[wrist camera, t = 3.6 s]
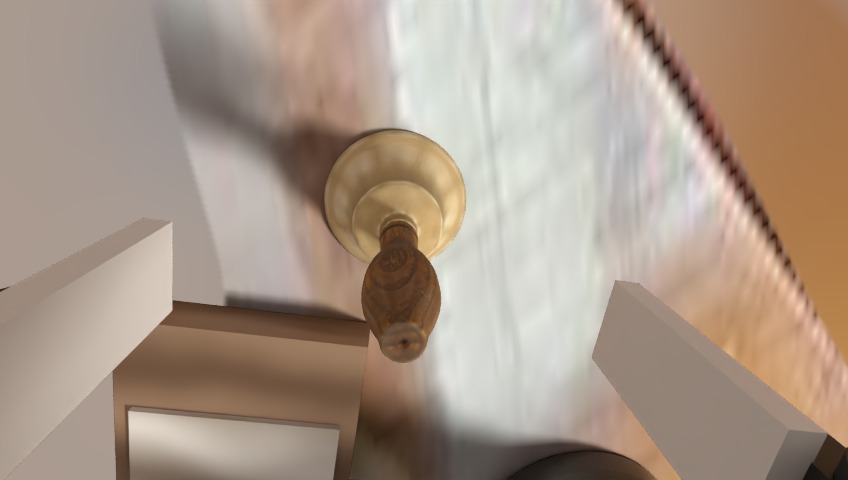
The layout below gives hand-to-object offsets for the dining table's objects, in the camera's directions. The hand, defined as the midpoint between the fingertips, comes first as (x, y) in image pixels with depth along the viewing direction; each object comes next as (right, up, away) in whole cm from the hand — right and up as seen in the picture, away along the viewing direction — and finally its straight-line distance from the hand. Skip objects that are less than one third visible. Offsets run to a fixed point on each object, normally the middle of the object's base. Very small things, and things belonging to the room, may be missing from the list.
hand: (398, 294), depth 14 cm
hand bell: (-1, +4, +14) cm, 14 cm away
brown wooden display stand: (-11, -11, +18) cm, 24 cm away
